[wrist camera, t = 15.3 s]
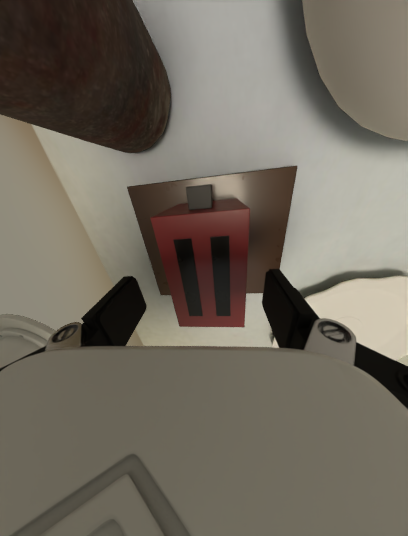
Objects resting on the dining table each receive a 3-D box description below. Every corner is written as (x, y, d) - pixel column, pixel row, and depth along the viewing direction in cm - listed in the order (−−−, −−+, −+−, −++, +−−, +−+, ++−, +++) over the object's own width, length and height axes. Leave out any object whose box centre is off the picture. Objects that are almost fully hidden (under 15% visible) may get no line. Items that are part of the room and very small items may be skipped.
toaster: (237, 181, 14) (252, 178, 7) (236, 282, 19) (244, 328, 13) (175, 188, 14) (142, 191, 8) (191, 283, 20) (179, 327, 14)
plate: (341, 243, 16) (353, 249, 15) (473, 305, 19) (495, 315, 17) (246, 343, 27) (248, 352, 25) (340, 375, 29) (346, 385, 28)
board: (163, 291, 22) (160, 295, 21) (131, 186, 16) (126, 186, 15) (273, 288, 20) (275, 292, 19) (292, 166, 13) (297, 165, 13)
